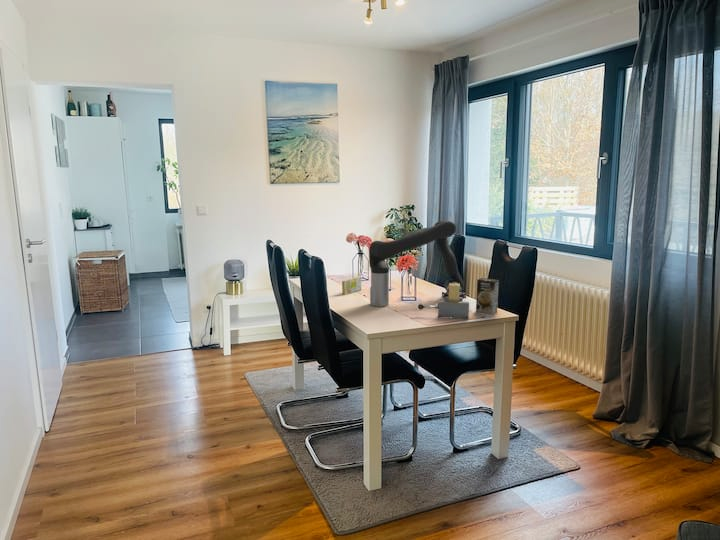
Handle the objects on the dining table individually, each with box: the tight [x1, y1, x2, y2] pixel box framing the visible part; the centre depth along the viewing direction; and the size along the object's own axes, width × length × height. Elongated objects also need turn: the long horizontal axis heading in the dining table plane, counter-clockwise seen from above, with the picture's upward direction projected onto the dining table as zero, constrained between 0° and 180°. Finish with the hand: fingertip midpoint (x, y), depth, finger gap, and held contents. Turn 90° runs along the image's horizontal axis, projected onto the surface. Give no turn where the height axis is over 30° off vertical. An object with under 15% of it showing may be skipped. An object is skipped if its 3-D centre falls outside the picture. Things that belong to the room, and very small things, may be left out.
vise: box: [417, 300, 470, 320], centre depth 261 cm, size 24×15×8 cm, turn 80°
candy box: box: [341, 276, 362, 296], centre depth 310 cm, size 16×2×8 cm, turn 144°
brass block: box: [449, 283, 460, 301], centre depth 258 cm, size 5×5×15 cm
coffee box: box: [475, 277, 500, 315], centre depth 264 cm, size 9×6×16 cm
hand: (454, 298), depth 264 cm, fingers closed
